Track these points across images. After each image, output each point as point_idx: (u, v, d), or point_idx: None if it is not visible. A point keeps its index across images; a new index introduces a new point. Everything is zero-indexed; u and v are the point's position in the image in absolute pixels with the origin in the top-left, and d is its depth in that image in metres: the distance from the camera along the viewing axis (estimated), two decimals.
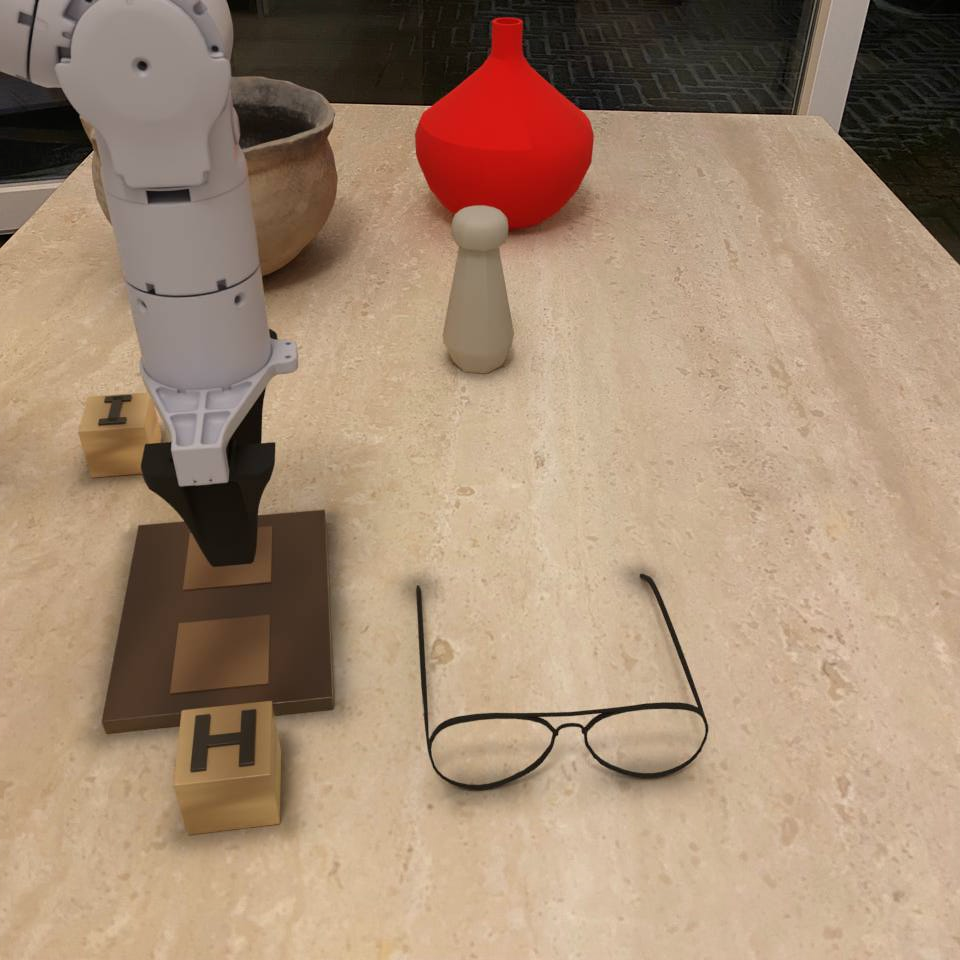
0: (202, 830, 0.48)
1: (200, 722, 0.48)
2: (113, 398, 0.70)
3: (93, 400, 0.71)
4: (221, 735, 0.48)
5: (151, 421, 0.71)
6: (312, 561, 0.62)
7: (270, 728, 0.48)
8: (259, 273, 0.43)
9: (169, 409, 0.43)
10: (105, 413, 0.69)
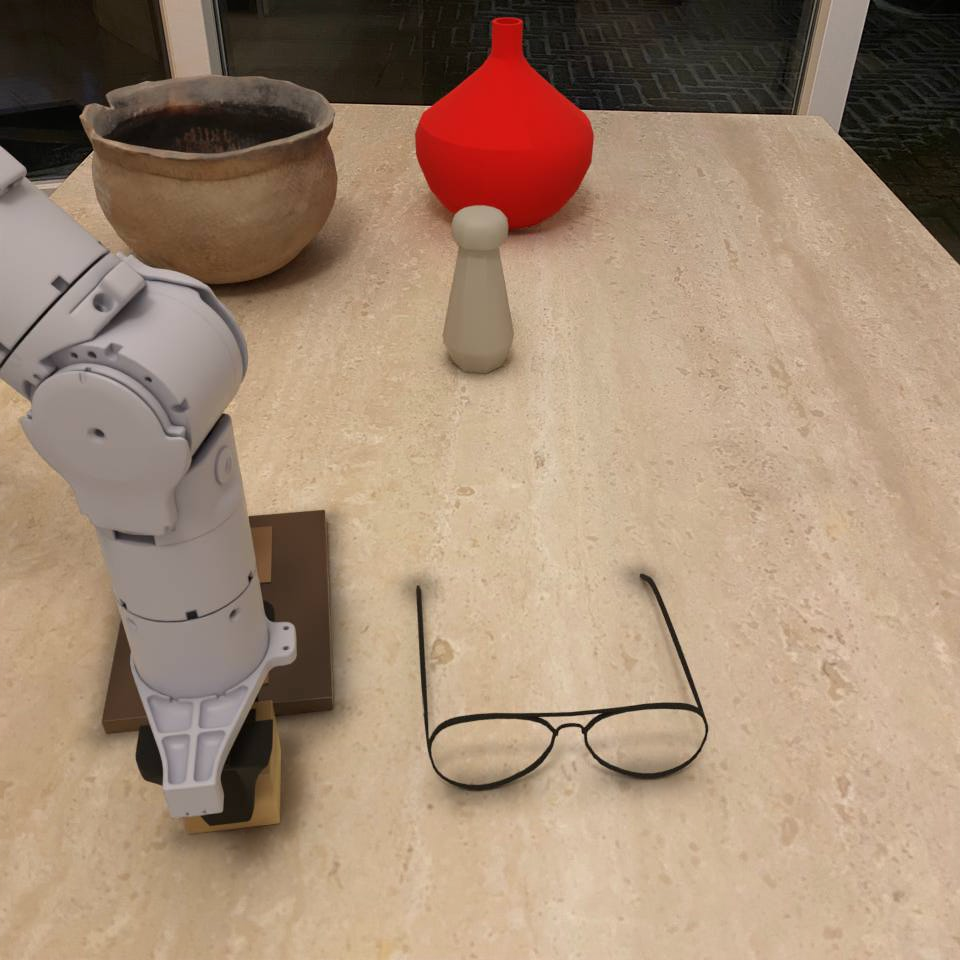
0: (202, 829, 0.48)
1: None
2: None
3: None
4: None
5: None
6: (312, 561, 0.62)
7: None
8: (255, 578, 0.41)
9: (161, 722, 0.41)
10: None
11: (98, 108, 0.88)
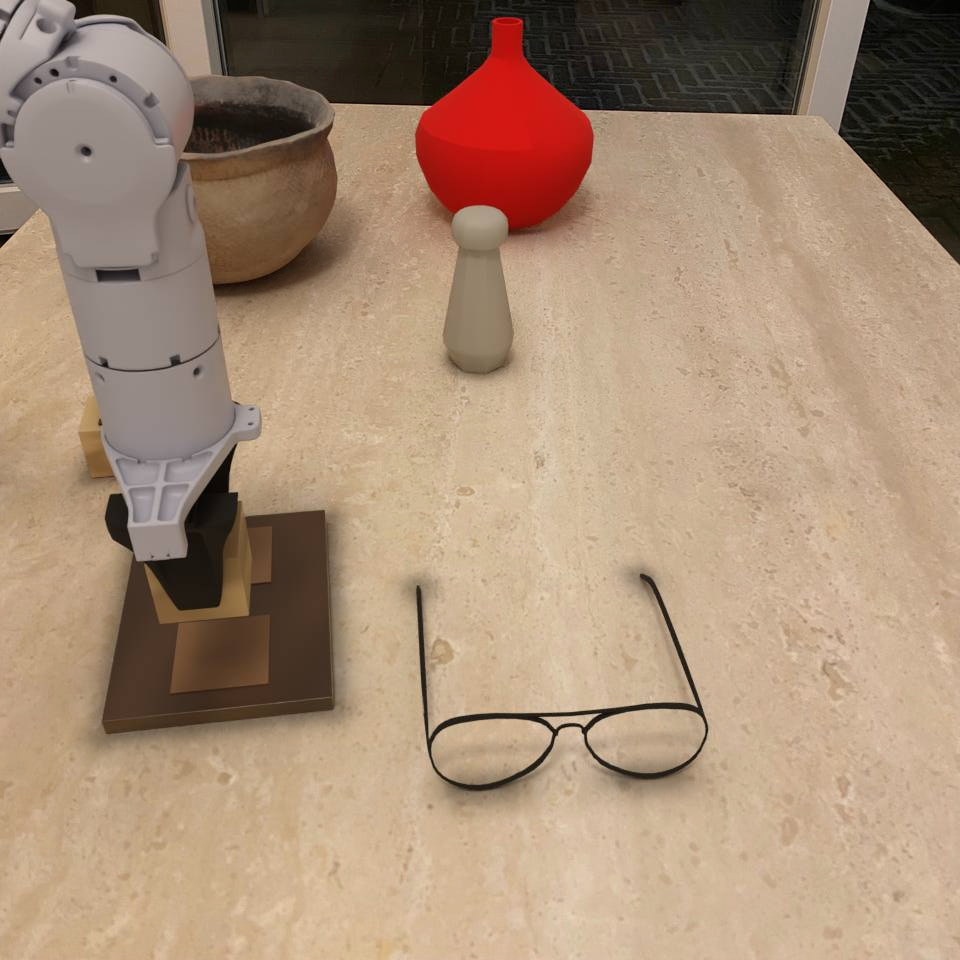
0: (174, 619, 0.50)
1: None
2: None
3: (93, 400, 0.71)
4: None
5: None
6: (312, 561, 0.62)
7: (239, 522, 0.50)
8: (219, 343, 0.43)
9: (129, 480, 0.43)
10: None
11: None
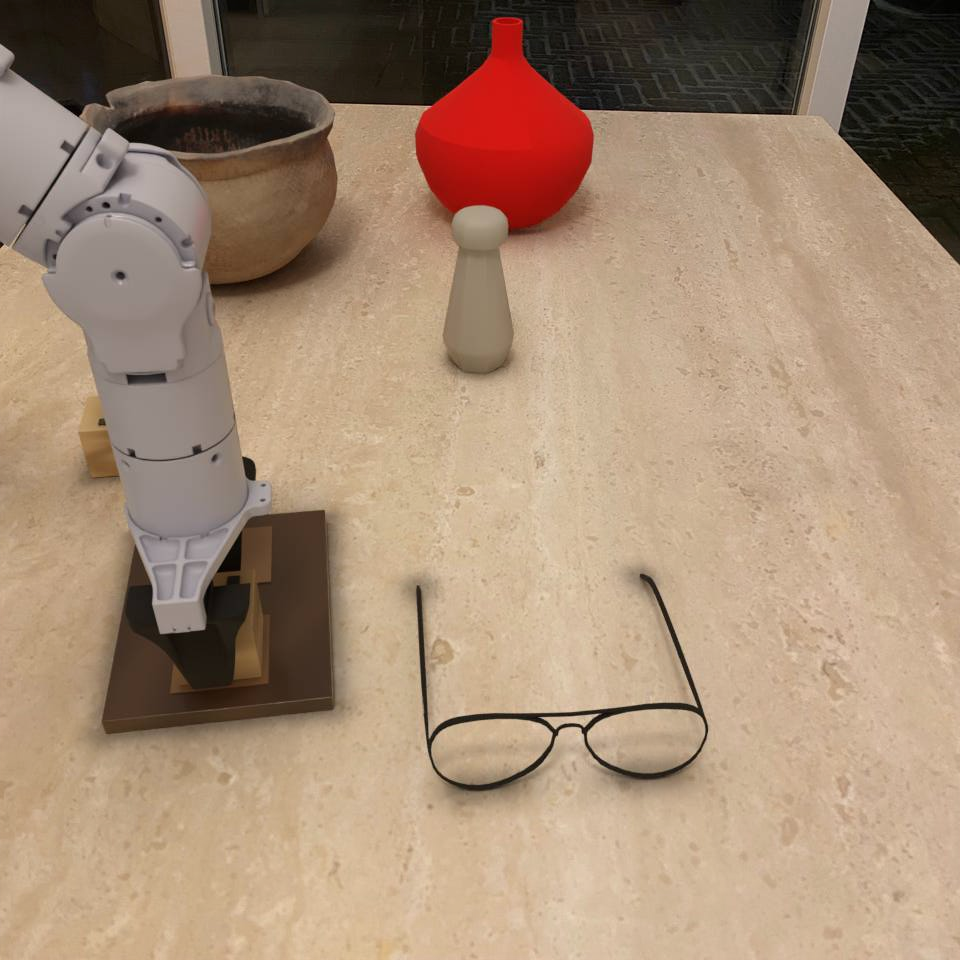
0: None
1: None
2: None
3: (93, 400, 0.71)
4: None
5: None
6: (312, 561, 0.62)
7: (253, 591, 0.54)
8: (235, 430, 0.47)
9: (151, 556, 0.46)
10: None
11: (98, 108, 0.88)
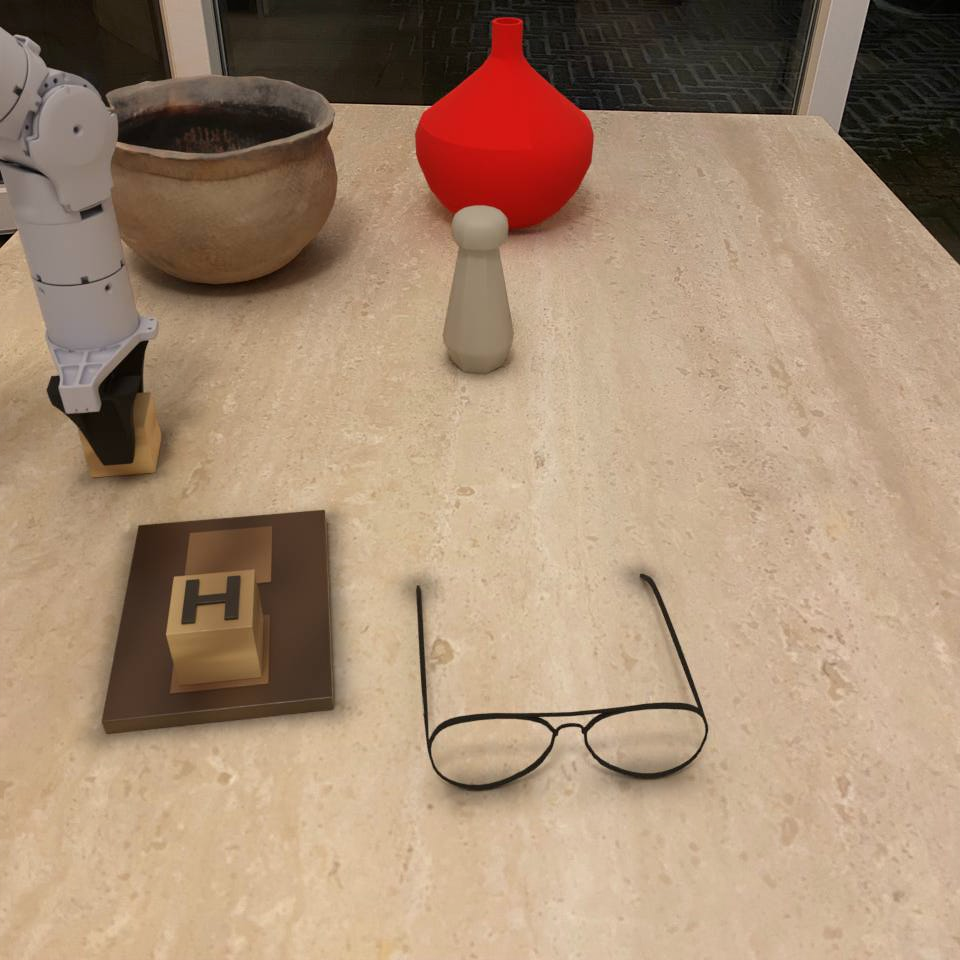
0: (192, 681, 0.54)
1: (190, 585, 0.54)
2: None
3: None
4: (209, 595, 0.54)
5: (151, 421, 0.71)
6: (312, 561, 0.62)
7: (253, 591, 0.54)
8: (124, 270, 0.63)
9: (62, 363, 0.63)
10: None
11: None
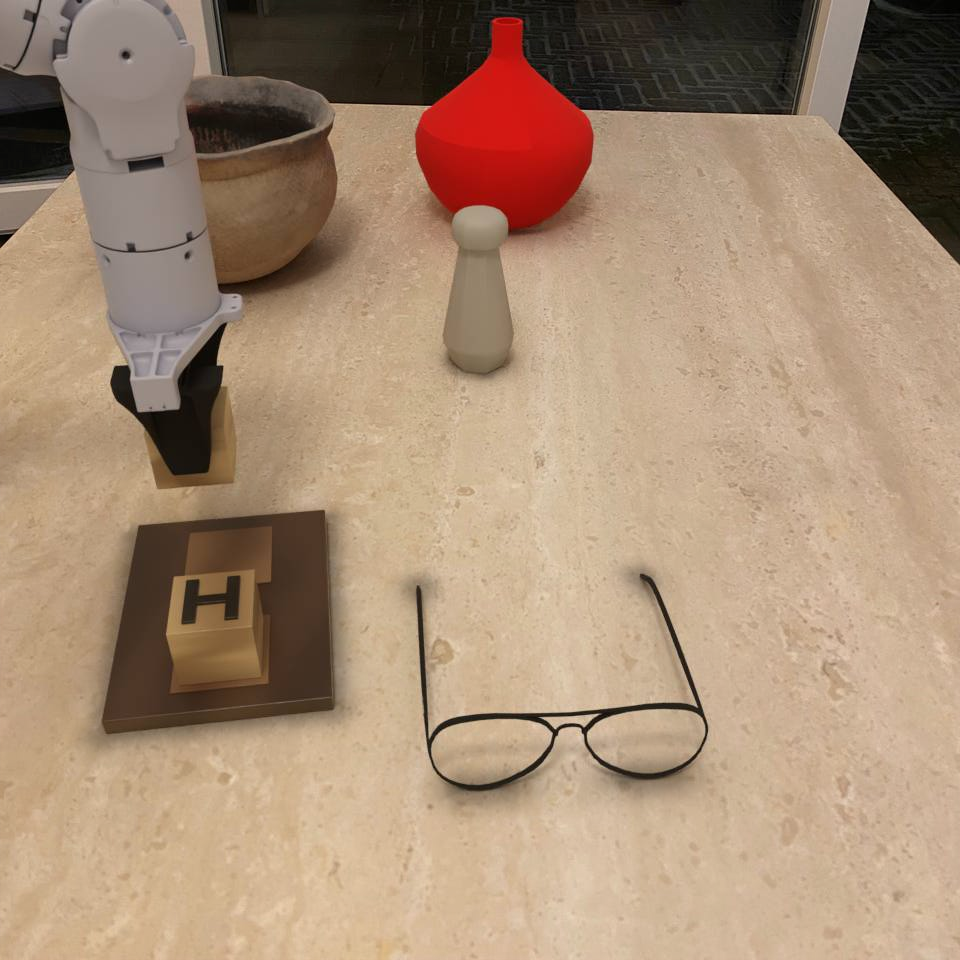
0: (192, 681, 0.54)
1: (190, 585, 0.54)
2: None
3: None
4: (209, 595, 0.54)
5: (229, 421, 0.58)
6: (312, 561, 0.62)
7: (253, 591, 0.54)
8: (206, 234, 0.51)
9: (130, 349, 0.51)
10: None
11: None
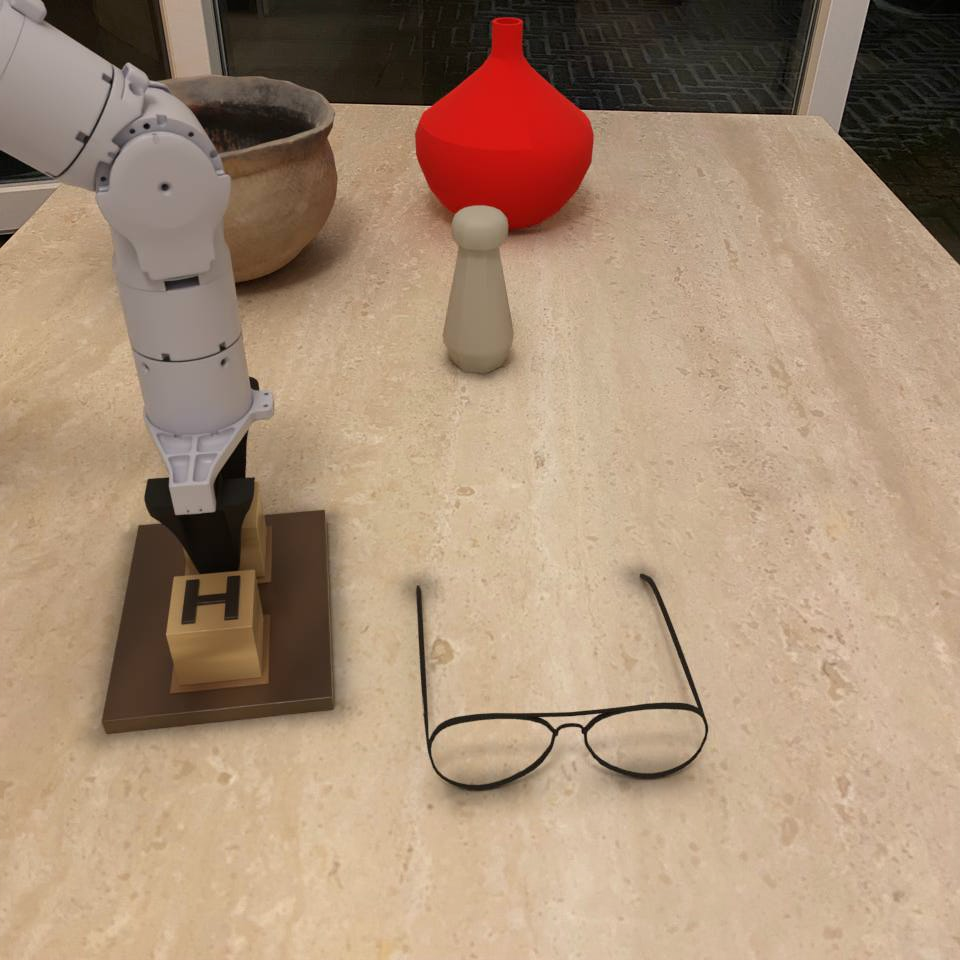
0: (192, 681, 0.54)
1: (190, 585, 0.54)
2: None
3: None
4: (209, 595, 0.54)
5: (260, 516, 0.61)
6: (312, 561, 0.62)
7: (253, 591, 0.54)
8: (241, 339, 0.53)
9: (167, 451, 0.53)
10: None
11: None
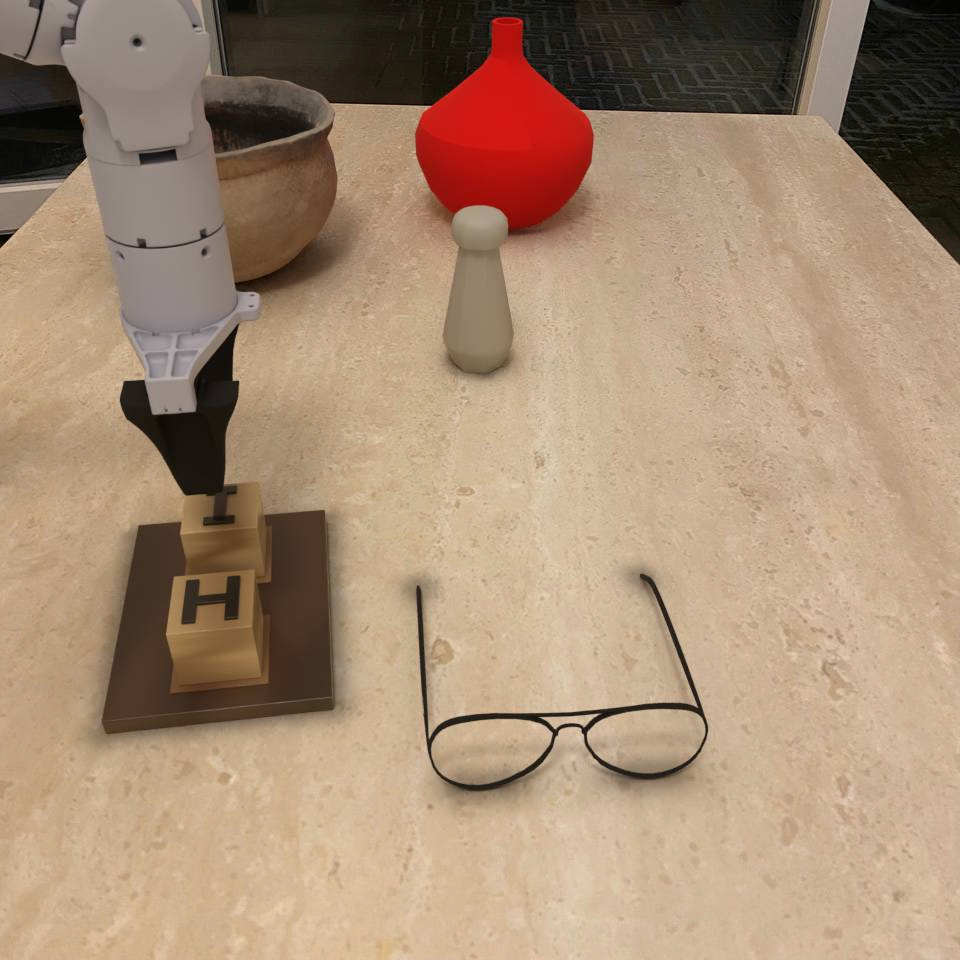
0: (192, 681, 0.54)
1: (190, 585, 0.54)
2: None
3: None
4: (209, 595, 0.54)
5: (260, 516, 0.61)
6: (312, 561, 0.62)
7: (253, 591, 0.54)
8: (224, 230, 0.49)
9: (144, 349, 0.49)
10: (209, 509, 0.60)
11: None
